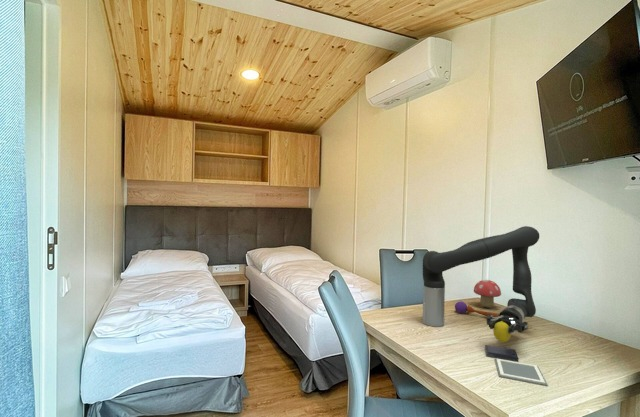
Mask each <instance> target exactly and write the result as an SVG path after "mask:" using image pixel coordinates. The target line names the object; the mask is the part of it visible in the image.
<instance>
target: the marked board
mask: <svg viewBox="0 0 640 417" xmlns="http://www.w3.org/2000/svg"><path fill="white" fill-rule="evenodd" d="M494 362H495V366H496V371H497V374H498V377H499V378H502V379H508V380H512V381H519V382H524V383H529V384H535V385H540V386H545V387H549V384H548V383H547V381H546V379H545V377H544V374H543V373H542V371H541V368H540V367H539V365H536V364H532V363H531V364H530V363H525V362H520V361H519V362H515V361H509V360H504V359H498V358H494Z"/></svg>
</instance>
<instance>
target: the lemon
mask: <svg viewBox="0 0 640 417" xmlns="http://www.w3.org/2000/svg"><path fill="white" fill-rule="evenodd" d="M508 327H509V326H508V325H507V324H506V323H504V322H503V321H501V322H498V323H496V324H495V326H494V328H493V329H492V330H493V336H494V337H495V339H496V340H497V341H499V342H500V343H501V344H504V343H506V342H508V341H509V340H510V339H511V334H512V333H511V334H510V333H508Z"/></svg>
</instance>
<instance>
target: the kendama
mask: <svg viewBox="0 0 640 417" xmlns="http://www.w3.org/2000/svg"><path fill="white" fill-rule="evenodd" d="M454 310H455V311H456V312H457V313H458V314H465V313H467V314H472V313H476V314H479V315H482V316H484V317H487V316H488V314H490V315H491V316H492V317H496V316H498V315H499V314H500V313H497V312H491V311H483V310H477V309H475V308H473V307H472V306H471V305H470V304H469V305H467V304H466V303H465V301H462V300H460V301H457V302H455V305H454Z"/></svg>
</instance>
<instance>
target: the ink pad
mask: <svg viewBox="0 0 640 417" xmlns="http://www.w3.org/2000/svg"><path fill="white" fill-rule="evenodd" d="M484 350H485V354H486V357H487V358H493V359H502V360H508V361H514V362H519V363H520V361H519V357H518V355H517V354H518V353H517V351H516V349H513V348H508V347H502V346H496V345H495V346H494V345H490V344H484Z"/></svg>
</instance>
